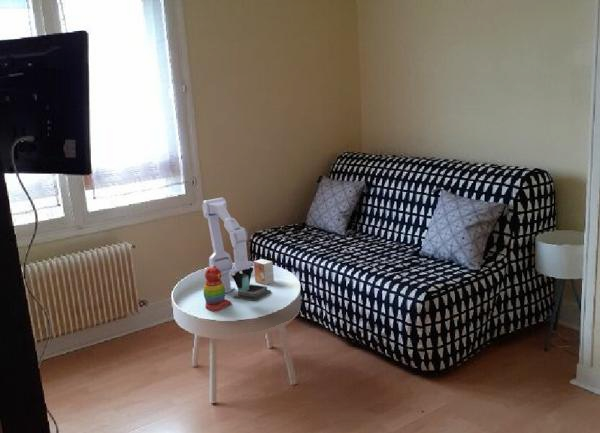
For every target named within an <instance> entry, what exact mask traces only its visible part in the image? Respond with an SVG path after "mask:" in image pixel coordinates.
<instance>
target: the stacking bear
mask: <svg viewBox="0 0 600 433" xmlns="http://www.w3.org/2000/svg"><path fill="white" fill-rule="evenodd" d="M204 272H205V273H204V277H205V279H206V281H205V283H204V285H203V297H204V300H205V304H204V305H205V309H207V310H208V311H211V312H220V311H222V310H223V308H225V307H229V306H231V305H232V302H231V300H229V299H226V294H225V288H224V285H223V283H222V280H221V279H220V278H221V276H222V273H221V272H220V270H219V269H218V268H216V266H213V267H212V268H209V267H208V268H207V269H206V270H205V271H204Z"/></svg>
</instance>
